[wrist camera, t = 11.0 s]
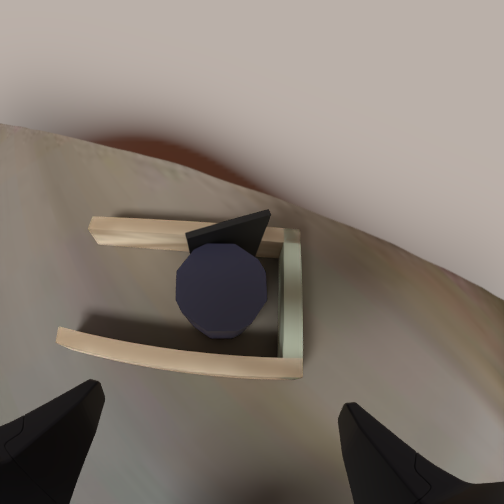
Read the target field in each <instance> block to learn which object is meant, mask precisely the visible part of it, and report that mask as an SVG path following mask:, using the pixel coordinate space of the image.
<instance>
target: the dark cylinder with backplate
mask: <svg viewBox="0 0 504 504" xmlns="http://www.w3.org/2000/svg"><path fill="white" fill-rule="evenodd" d="M270 216H271V213H270V211H269V209H268V210H264V211H260V212H257V213H253V214H249V215H246V216H242V217H238V218H235V219H231V220H228V221H224V222H220V223H217V224H213V225H210V226H207V227H203V228H200V229H196V230H193V231H189V232H186V233H185V235H186V240H187V244H188V248H189V252H190V255H189V256H188V258H187V259H186V260H185V261H184V263H183V264H182V265H181V266H180V268H179V269H178V270H177V275H176V301H177V303H178V305H179V308H180V310H181V312H182V313H183V315H184V316H185V317H186V318H187V319H188V320H189V321H190V323H191V324H192V325H193V326H194V327H195V328H197V329H198V330H199V331H201V332H202V333H204V334H205V335H206V336H208V337H209V338H211V339H232V338H234V337H236V336H238V335H240V334H241V333H242V332H243V331H244V330H245V329H246V328H247V327H248V326H249V325H250V324H251V323H252V322H253V320H254V319H255V317H256V316H257V314H258V313H259V311H260V310H261V308H262V307H263V305H264V304H265V303H266V301H267V286H266V272H265V270H264V268H263V266H262V265H261V263H260V261H259V260H258V259H257V258H255V256H256V253H257V251H258V248H259V245H260V243H261V240H262V238H263V235H264V232H265V230H266V227H267V224H268V222H269V219H270Z"/></svg>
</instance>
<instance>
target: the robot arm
mask: <svg viewBox="0 0 504 504" xmlns="http://www.w3.org/2000/svg"><path fill="white" fill-rule="evenodd" d="M104 402H105V395H104V392H103V389H102V386H101V383H100V382H99V381H96V380H92V379H89V380H87V381H85V382H84V383H82V384H80V385H78V386H76V387H75V388H73V389H71V390H69V391H68V392H66V393H64V394H62V395H60V396H59V397H57V398H55V399H53V400H51V401H49V402H48V403H46V404H44V405H42V406H40V407H38V408H37V409H35V410H33V411H31V412H29V413H27V414H25V416H21V417H20V418H18V419H16V420H14V421H12V422H10V423H7V424H5V425H3V426H0V504H69V503H70V500H71V497H72V494H73V491H74V488H75V486H76V483H77V480H78V477H79V474H80V472H81V469H82V466H83V464H84V461H85V458H86V456H87V453H88V451H89V448H90V446H91V443H92V441H93V438H94V436H95V433H96V430H97V427H98V423H99V419H100V416H101V412H102V409H103V406H104ZM338 426H339V433H340V441H341V449H342V455H343V460H344V464H345V468H346V472H347V476H348V480H349V484H350V488H351V492H352V496H353V500H354V504H504V482H495V483H482V484H472V483H468V482H465V481H462V480H460V479H459V478H457V477H455V476H453V475H451V474H449V473H448V472H446V471H444V470H442V469H441V468H439V467H437V466H436V465H434V464H433V463H431V462H430V461H428V460H427V459H426V458H424V457H423V456H421V455H420V454H419V453H416V451H415V450H414V449H412V448H411V447H410V446H408V445H407V444H406V443H405V442H403V441H402V440H401V439H400V438H398V437H397V436H396V435H395V434H393V433H392V432H391V431H390V430H388V429H387V428H386V427H385V426H384V425H382V424H381V423H380V422H379V421H377V420H376V419H375V418H374V417H373V416H371V415H370V414H369V413H368V412H367V411H365V410H364V409H363V408H362V407H361V406H359V405H358V404H357V403H355V402H351V403H345V404H344V406H343V408H342V410H341V412H340V415H339V417H338Z"/></svg>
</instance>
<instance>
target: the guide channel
mask: <svg viewBox="0 0 504 504" xmlns="http://www.w3.org/2000/svg"><path fill="white" fill-rule="evenodd" d="M213 224H217V223H208V222H193V221H176V220H158V219H139V218H116V217H92V220H91V222H90V225H89V227H88V230H89V231H90V233H91V234H92V236H93V237H94V238H95V240H96V241H97V243H98V244H99V245H111V246H123V247H136V248H149V249H161V250H174V251H187V252H189V248H188V244H187V240H186V235H185V233H186V232H189V231H193V230H196V229H200V228H203V227H207V226H210V225H213ZM255 257H266V258H279V294H278V346H277V358H270V357H250V356H234V355H222V354H211V353H201V352H192V351H183V350H176V349H168V348H161V347H155V346H148V345H142V344H136V343H131V342H125V341H120V340H115V339H110V338H105V337H100V336H96V335H91V334H87V333H83V332H78V331H74V330H70V329H66V328H63V327H59V328H58V333H57V338H56V343H57V344H60V345H62V346H64V347H67V348H69V349H72V350H75V351H79V352H82V353H86V354H90V355H94V356H98V357H102V358H106V359H110V360H115V361H120V362H124V363H129V364H134V365H139V366H145V367H150V368H156V369H163V370H169V371H176V372H183V373H191V374H200V375H209V376H220V377H232V378H248V379H272V380H295V379H299V378H302V377H303V307H302V269H301V244H300V230H298V229H287V228H275V227H266V230H265V232H264V235H263V238H262V240H261V243H260V245H259V248H258V251H257V253H256V256H255Z"/></svg>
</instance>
